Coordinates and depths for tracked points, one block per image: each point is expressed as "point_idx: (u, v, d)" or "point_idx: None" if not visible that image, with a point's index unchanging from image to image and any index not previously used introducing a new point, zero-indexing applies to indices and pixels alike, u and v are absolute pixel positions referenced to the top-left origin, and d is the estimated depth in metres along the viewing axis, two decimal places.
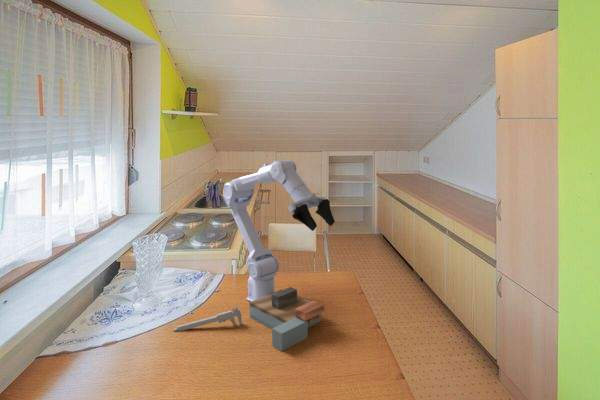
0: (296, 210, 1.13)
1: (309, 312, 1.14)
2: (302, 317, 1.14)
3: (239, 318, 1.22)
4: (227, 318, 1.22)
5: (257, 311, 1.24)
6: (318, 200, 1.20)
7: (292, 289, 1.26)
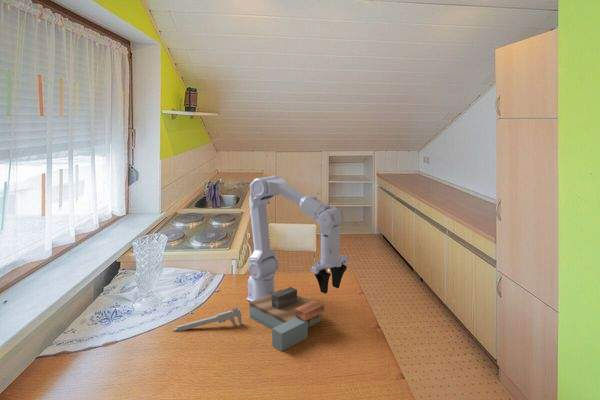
0: (319, 273, 1.18)
1: (309, 312, 1.14)
2: (302, 317, 1.14)
3: (239, 318, 1.22)
4: (227, 318, 1.22)
5: (257, 311, 1.24)
6: None
7: (292, 289, 1.26)
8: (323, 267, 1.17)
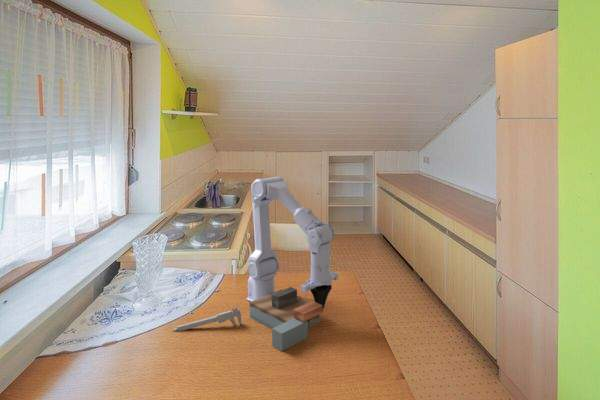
0: (315, 289, 1.17)
1: (307, 313, 1.14)
2: (300, 318, 1.14)
3: (239, 318, 1.22)
4: (227, 319, 1.22)
5: (257, 311, 1.24)
6: None
7: (292, 289, 1.26)
8: (313, 285, 1.15)
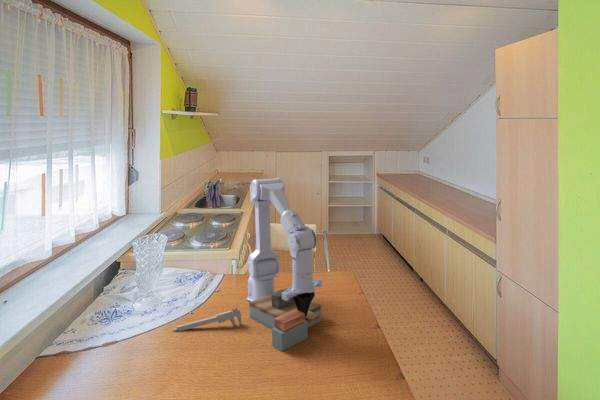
0: (297, 296, 1.12)
1: (288, 322, 1.09)
2: (281, 327, 1.08)
3: (239, 318, 1.22)
4: (227, 319, 1.22)
5: (257, 311, 1.24)
6: None
7: None
8: (294, 293, 1.10)
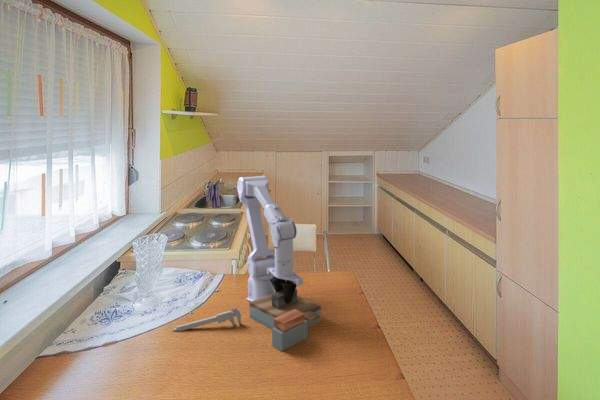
0: (294, 283, 1.21)
1: (288, 322, 1.09)
2: (281, 327, 1.08)
3: (238, 318, 1.22)
4: (227, 319, 1.22)
5: (257, 311, 1.24)
6: None
7: None
8: None
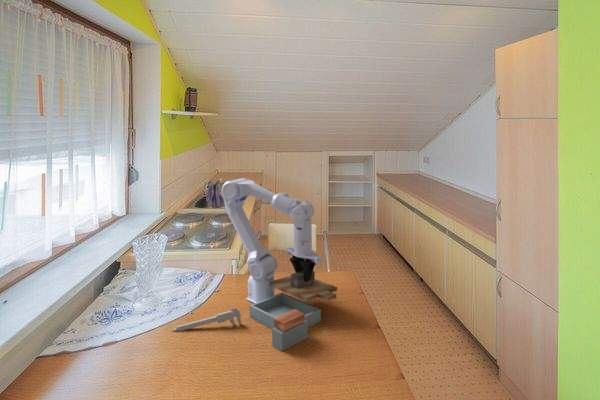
0: (313, 261, 1.28)
1: (288, 322, 1.09)
2: (281, 327, 1.08)
3: (238, 318, 1.22)
4: (227, 319, 1.22)
5: (257, 311, 1.24)
6: None
7: None
8: None
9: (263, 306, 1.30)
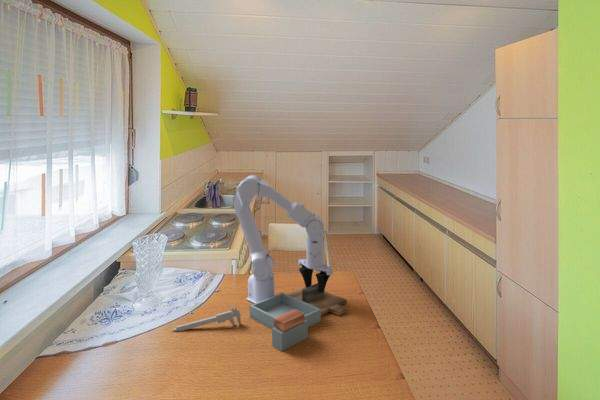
0: None
1: (288, 322, 1.09)
2: (281, 327, 1.08)
3: (238, 318, 1.22)
4: (227, 319, 1.22)
5: (257, 311, 1.24)
6: None
7: None
8: None
9: (263, 306, 1.30)
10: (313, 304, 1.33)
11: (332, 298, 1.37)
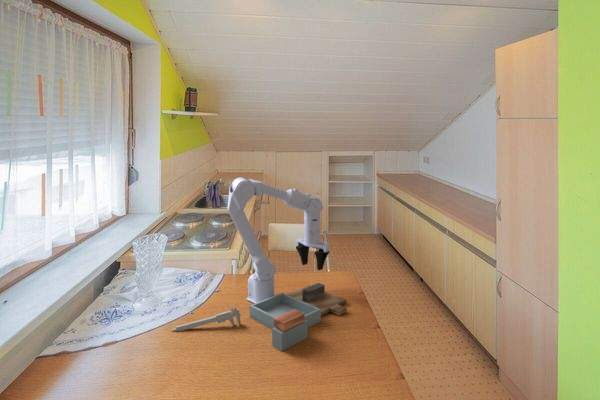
0: (325, 251, 1.38)
1: (288, 322, 1.09)
2: (281, 327, 1.08)
3: (238, 318, 1.22)
4: (226, 319, 1.22)
5: (257, 311, 1.24)
6: None
7: (320, 285, 1.39)
8: None
9: (263, 306, 1.30)
10: (313, 304, 1.33)
11: (332, 298, 1.38)
